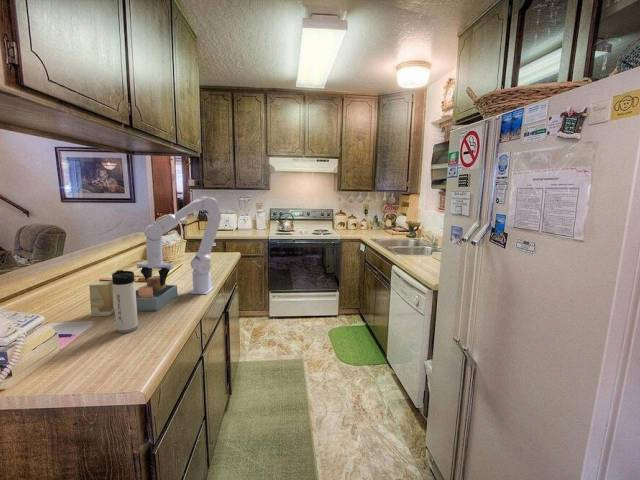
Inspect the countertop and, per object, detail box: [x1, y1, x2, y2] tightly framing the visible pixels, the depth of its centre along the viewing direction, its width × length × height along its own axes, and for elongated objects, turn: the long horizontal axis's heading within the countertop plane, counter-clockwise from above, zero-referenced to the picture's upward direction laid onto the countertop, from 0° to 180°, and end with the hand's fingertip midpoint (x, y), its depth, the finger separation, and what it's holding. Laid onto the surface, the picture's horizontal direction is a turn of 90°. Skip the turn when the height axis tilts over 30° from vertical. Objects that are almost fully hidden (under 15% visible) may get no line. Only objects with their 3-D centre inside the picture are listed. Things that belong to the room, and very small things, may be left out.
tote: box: [135, 284, 179, 312], centre depth 127 cm, size 17×13×5 cm
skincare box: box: [88, 280, 115, 317], centre depth 114 cm, size 6×4×12 cm
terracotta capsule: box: [137, 285, 153, 299], centre depth 123 cm, size 5×5×7 cm
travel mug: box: [111, 269, 139, 334], centre depth 102 cm, size 6×7×20 cm
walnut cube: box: [146, 275, 167, 291], centre depth 130 cm, size 5×5×5 cm
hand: (156, 284), depth 130 cm, fingers closed on walnut cube, 5 cm apart
